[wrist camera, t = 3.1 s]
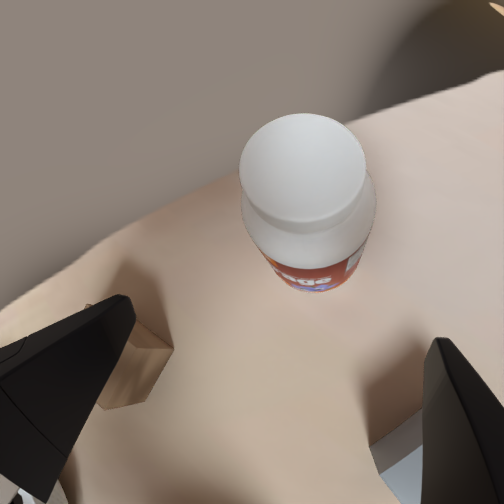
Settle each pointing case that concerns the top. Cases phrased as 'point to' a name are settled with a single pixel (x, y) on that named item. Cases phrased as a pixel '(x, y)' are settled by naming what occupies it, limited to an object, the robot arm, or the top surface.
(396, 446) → the slate-grey cube
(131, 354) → the walnut cube
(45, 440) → the robot arm
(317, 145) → the pill bottle
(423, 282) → the top surface
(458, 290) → the top surface
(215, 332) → the top surface
